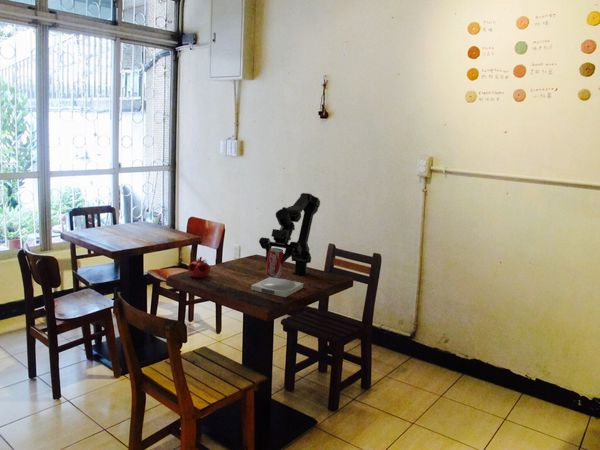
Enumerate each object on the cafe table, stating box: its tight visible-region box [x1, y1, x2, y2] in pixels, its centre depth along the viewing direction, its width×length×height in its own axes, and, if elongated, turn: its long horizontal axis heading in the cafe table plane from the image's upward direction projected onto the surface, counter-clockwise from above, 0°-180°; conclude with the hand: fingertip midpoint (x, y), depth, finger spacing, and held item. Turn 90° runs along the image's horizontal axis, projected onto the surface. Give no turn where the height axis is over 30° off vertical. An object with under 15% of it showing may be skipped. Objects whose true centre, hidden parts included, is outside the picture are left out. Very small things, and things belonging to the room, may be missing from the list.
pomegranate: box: [188, 256, 211, 279], centre depth 245 cm, size 10×10×9 cm
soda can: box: [265, 247, 285, 279], centre depth 228 cm, size 7×7×12 cm
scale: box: [250, 276, 304, 298], centre depth 233 cm, size 17×17×2 cm
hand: (274, 261), depth 227 cm, fingers closed on soda can, 7 cm apart
